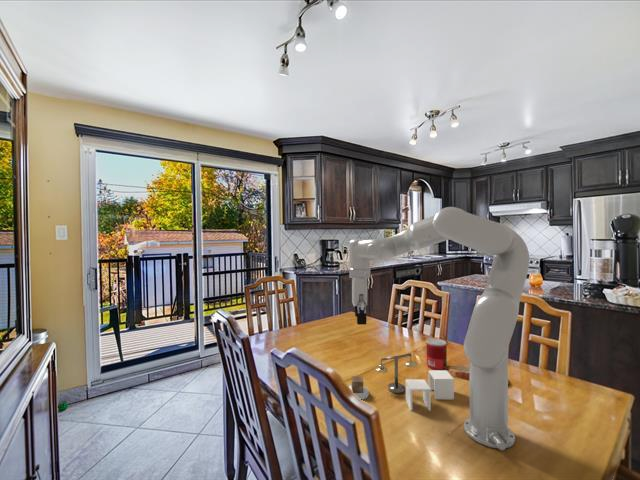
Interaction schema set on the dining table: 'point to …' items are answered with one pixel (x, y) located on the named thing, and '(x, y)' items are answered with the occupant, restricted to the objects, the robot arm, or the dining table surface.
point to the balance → (395, 386)
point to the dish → (362, 395)
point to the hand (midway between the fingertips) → (360, 320)
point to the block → (357, 384)
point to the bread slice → (461, 372)
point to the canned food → (436, 354)
